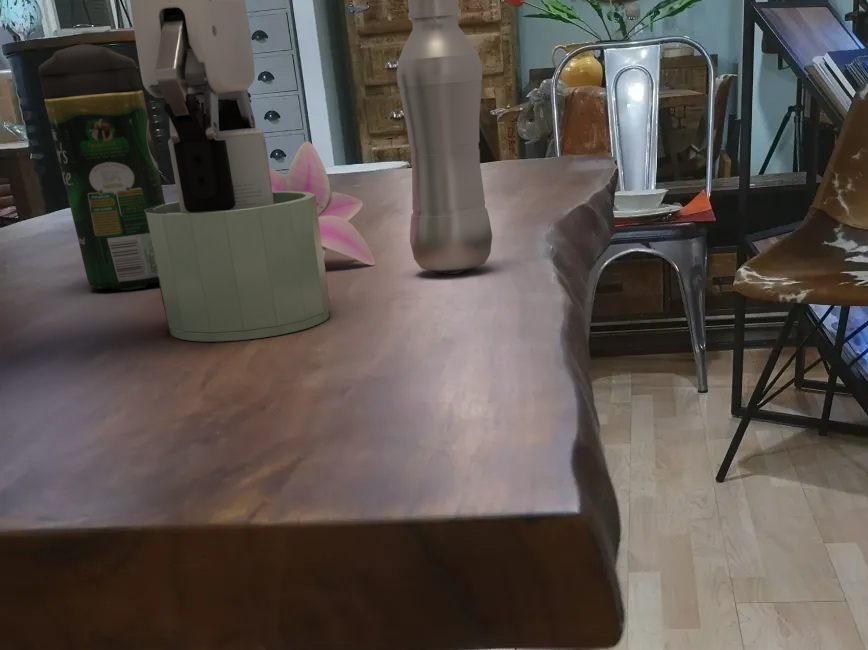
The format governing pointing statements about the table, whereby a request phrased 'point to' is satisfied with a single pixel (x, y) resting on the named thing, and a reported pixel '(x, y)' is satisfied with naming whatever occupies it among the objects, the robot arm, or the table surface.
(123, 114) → the coffee jar
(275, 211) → the green flower pot
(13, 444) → the table surface
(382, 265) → the table surface
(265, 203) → the white cardboard box
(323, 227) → the lily
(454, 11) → the plastic bottle
